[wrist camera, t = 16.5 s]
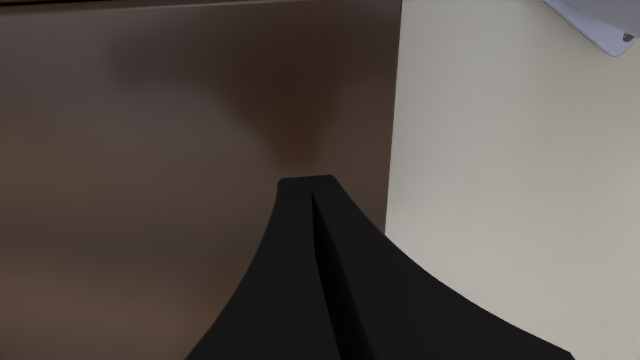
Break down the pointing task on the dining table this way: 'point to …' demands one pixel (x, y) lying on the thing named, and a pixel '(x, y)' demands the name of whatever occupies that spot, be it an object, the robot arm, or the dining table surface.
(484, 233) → the dining table surface
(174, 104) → the cabinet
